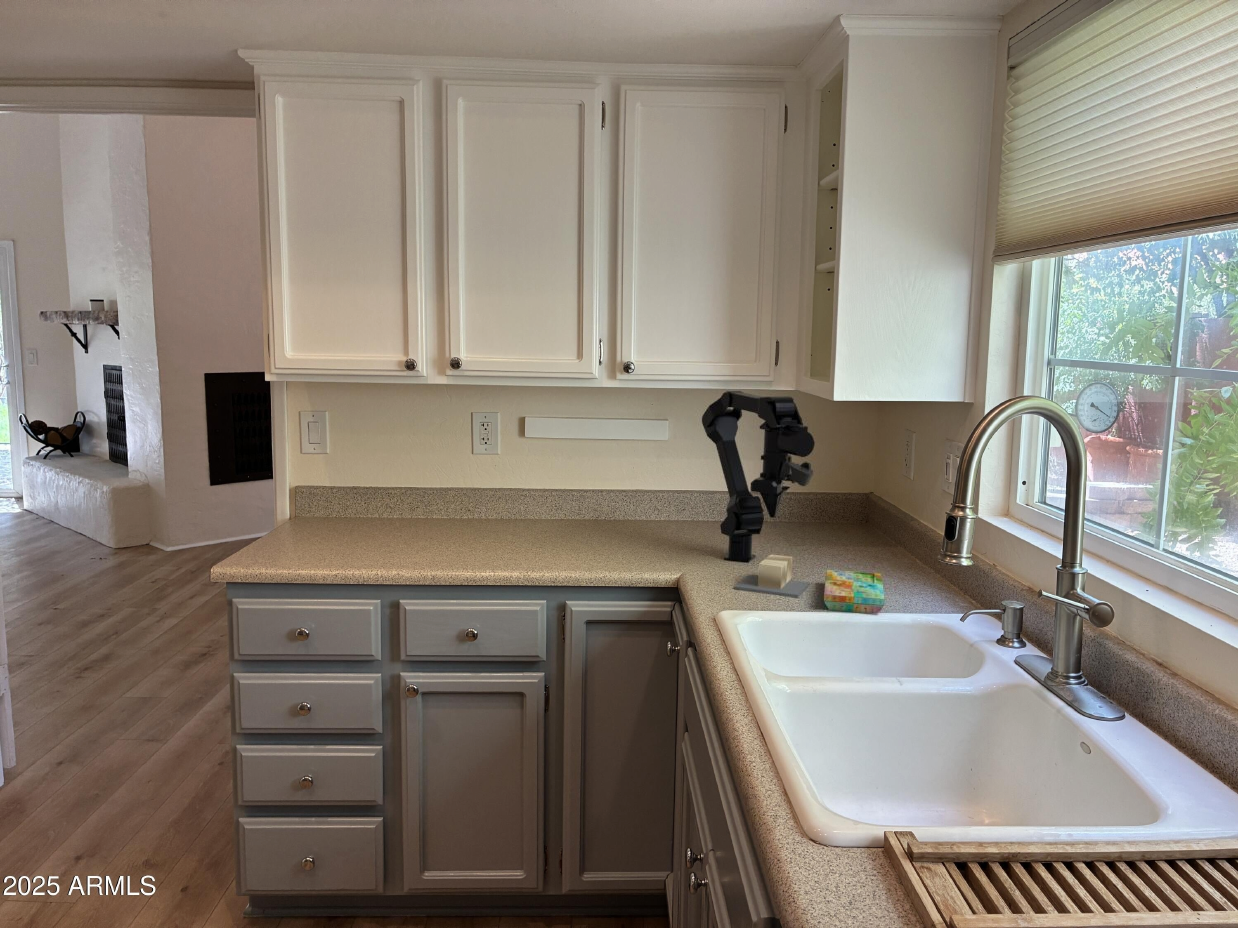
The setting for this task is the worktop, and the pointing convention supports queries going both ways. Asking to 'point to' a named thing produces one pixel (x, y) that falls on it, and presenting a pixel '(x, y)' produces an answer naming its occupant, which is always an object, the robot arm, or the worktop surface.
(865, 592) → the puzzle game
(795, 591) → the rubber mat
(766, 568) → the maple block
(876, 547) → the worktop surface
